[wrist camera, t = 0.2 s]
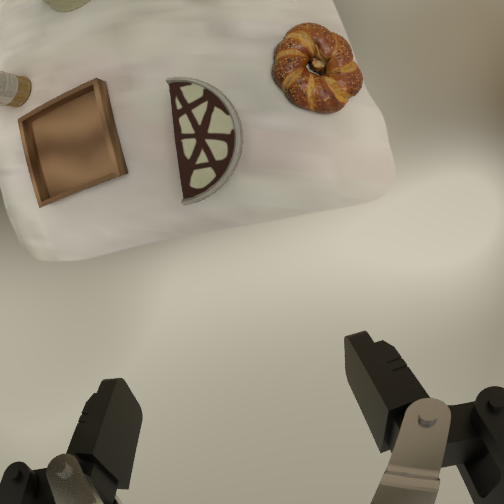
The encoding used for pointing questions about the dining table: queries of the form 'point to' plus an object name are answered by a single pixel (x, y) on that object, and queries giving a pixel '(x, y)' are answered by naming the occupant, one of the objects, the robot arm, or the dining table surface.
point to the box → (72, 143)
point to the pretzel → (316, 68)
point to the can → (65, 4)
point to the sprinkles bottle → (13, 89)
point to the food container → (204, 137)
